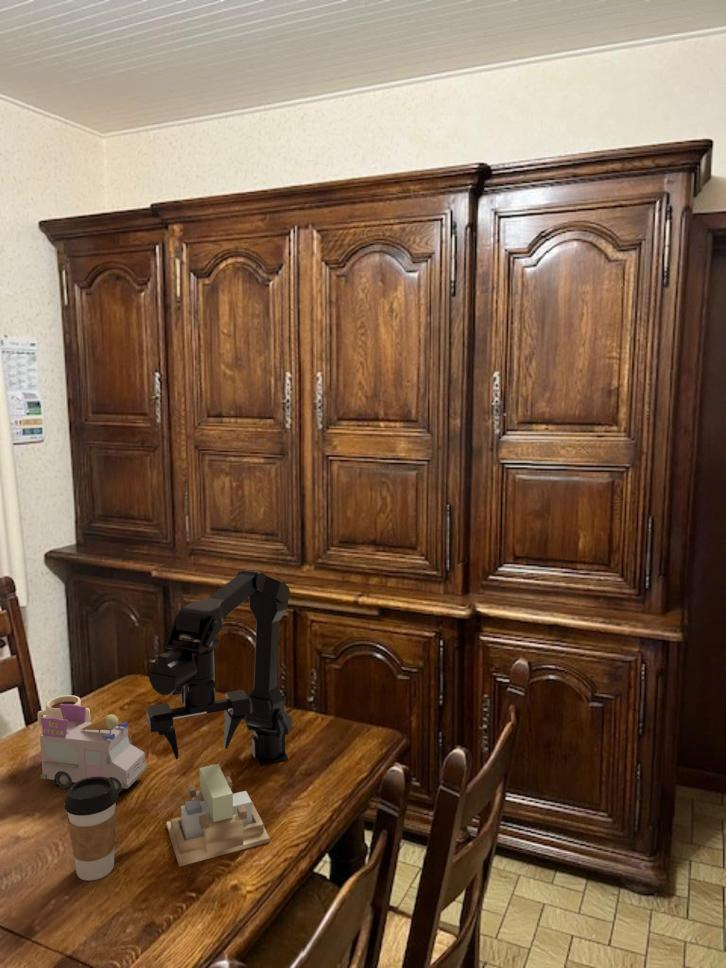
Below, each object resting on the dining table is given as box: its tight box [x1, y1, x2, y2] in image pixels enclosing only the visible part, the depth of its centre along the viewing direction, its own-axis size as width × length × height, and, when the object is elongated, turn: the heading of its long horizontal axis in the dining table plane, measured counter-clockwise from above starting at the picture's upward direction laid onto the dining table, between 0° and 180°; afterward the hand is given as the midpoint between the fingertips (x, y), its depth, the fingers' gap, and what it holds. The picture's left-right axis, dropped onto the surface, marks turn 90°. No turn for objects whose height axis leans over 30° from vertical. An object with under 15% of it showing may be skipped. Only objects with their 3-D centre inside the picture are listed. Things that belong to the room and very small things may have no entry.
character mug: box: [37, 694, 91, 726], centre depth 158 cm, size 11×7×13 cm, turn 98°
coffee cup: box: [63, 776, 119, 881], centre depth 121 cm, size 8×8×15 cm
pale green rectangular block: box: [199, 763, 234, 822], centre depth 130 cm, size 4×11×4 cm, turn 24°
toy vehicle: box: [39, 704, 148, 795], centre depth 148 cm, size 9×20×15 cm, turn 78°
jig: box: [166, 776, 271, 867], centre depth 131 cm, size 16×13×7 cm
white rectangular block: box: [180, 790, 253, 841], centre depth 131 cm, size 12×4×6 cm, turn 114°
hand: (201, 753), depth 135 cm, fingers open, 9 cm apart
